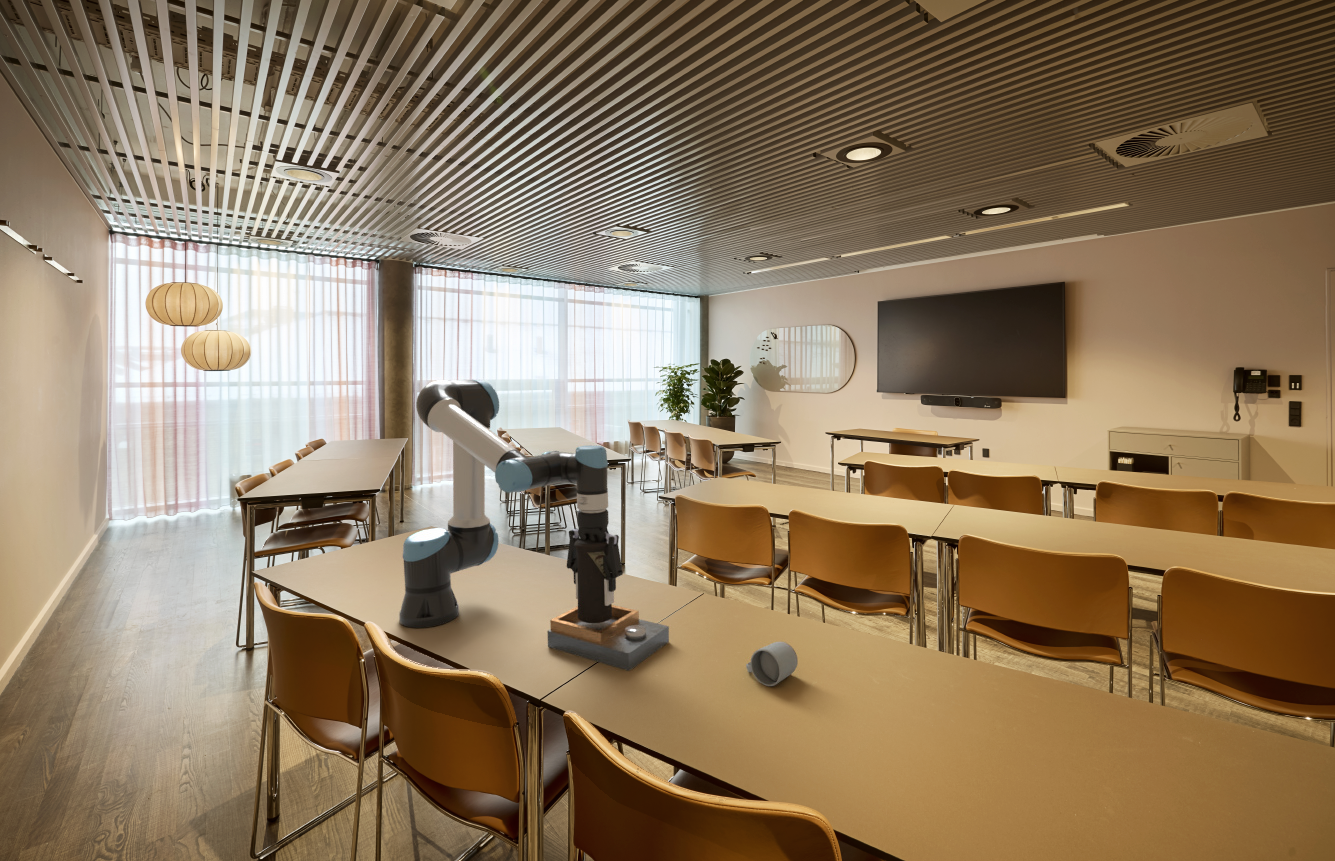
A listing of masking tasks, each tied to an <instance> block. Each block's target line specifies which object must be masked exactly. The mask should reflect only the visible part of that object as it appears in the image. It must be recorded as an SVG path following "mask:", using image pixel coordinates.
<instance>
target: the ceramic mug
mask: <svg viewBox="0 0 1335 861" xmlns="http://www.w3.org/2000/svg"><path fill="white" fill-rule="evenodd" d="M798 661H799V660H798V655H797V652H796V650H795V649H794V648H793V646H791V645H790V644H789V643H787V642H785V641H775V642H772V643H770V644H768V645H765V646H763V647H761V648H759V649H757V650H755V651H754V652H753V653H752V655H751V657H750V661H749V662H748V663H746V664H745V668H746V670H747V672H748V673H752V674H753V676H754V678H755V679H756V680H757V682H759V683H760V684H761V685H764V686H766V687H774V686H776V685H778V684H779V683H780V682H782V681H784V680H785V679H786V678H787V677H789V676H790V675H792V674H793V673H794V672H795V671H796V669H797V668H798V663H799V662H798Z"/></svg>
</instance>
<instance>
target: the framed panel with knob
mask: <svg viewBox="0 0 1335 861" xmlns="http://www.w3.org/2000/svg"><path fill="white" fill-rule="evenodd" d="M639 613H640V612H639V610H637V609H632V608H627V607H623V606H618V605H614V604H612V618H611V619H610V620H608V621H605V622H601V623H585V622H582V621H580V620H579V619H578V605H577V606H576V607H573V608H571V609H569V610H567V611H565V612H563V613H561V614H560V615H558V616H556V617H553V618H552V619H549V622H550V623H549V624H550V629H549V630H547V631H546V632H547V647H548V648H551V649H554V650H557V651H561V652H564V653H567V654H571V655H574V656H576V657H577V656H578V657H581V658H584V659H588V660H591V661H594V662H598V663H601V664H605V665H608V666H611V667H614V668H617V669H621V670H624V671H627V672H629V671H631V670H632V669H634V668H635V667H636V666H638V665H639V664H641V663H642V662H643V661H645V660H646V659H648V658H649V657H650V656H652V655H653V654H654V653H655V652H657V651H658V650H660V649H661V648H662V647H664V646H665V645H667V644H668V643H669V642H670V626H669V625H665V624H661V623H657V622H653V621H649V620H648V621H647V620H645V619H640V618H639V616H640V614H639Z"/></svg>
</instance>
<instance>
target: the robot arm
mask: <svg viewBox="0 0 1335 861" xmlns="http://www.w3.org/2000/svg"><path fill="white" fill-rule="evenodd" d="M415 407H416V411H417V415H418V417H419V419H420V420H421V422H422V423H423V424H424V425H426V426H427V427H428V428H429V429H431V430H432V431H433V432H435V433H442V434H444V435H445V436H446V437H447V438H449V439H450V440H451V441H452V463H453V464H452V471H453V472H452V474H453V475H452V476H453V478H452V481H453V483H452V487H453V488H452V490H453V492H452V495H453V497H452V498H453V500H452V501H453V502H452V504H453V509H452V510H453V512H452V514H453V516H452V517H451V518H450V519H449V520H448V521H447V529H446V528H442V527H436V528H435V527H434V528H433V527H432V528H430V529H428V528H427V529H423V530H420V531H417V532H415V533H413V534H410V535H409V536H408V537H407V538H406V539H405V540H404V542H403V545H402V546H403V548H402V559H403V576H404V590H405V591H404V596H403V601H402V604H401V607H400V611H399V623H400V625H402V626H404V627H406V628H413V629H414V628H415V629H419V628H421V629H423V628H430V627H431V628H432V627H435V626H436V627H437V626H440V625H444V624H446V623H449V622H451V621H453V620H454V619H456V618H457V617H458V616H459V613H460V610H459V609H460V607H459V603H458V601H457V598H456V596H455V594H454V591H453V589H452V583H451V580H452V579H451V576H452V575H451V574H453V573H457V572H459V571H463V570H467V569H469V568H472V567H479V566H481V565H483V564H484V563H487V562H489V561H490V560H492V558H494V556H495V555H496V554H497V551H498V549H499V534H498V532H497V531H496V530H497V529H496V527H495V526H494V525H493V524H492V523H491V520H490V518H489V517H488V516H487V515H486V514H485V500H486V499H485V488H486V487H485V486H486V483H485V482H486V481H485V480H486V478H485V476H486V474H485V473H486V472H485V470H486V468H488V469H489V470H490V471H492V472H493V473H494V478H495V482H496V484H498V488H499V489H500V490H501V491H503V492H505V493H520V492H525V491H529V490H532V489H536V488H541V487H547V486H552V485H556V484H562V483H563V484H564V483H565V484H573V485H576V507H577V510H578V511H577V512H576V518H577V519H576V520H577V526H578V528H574V529H570V530H569V531H568V537H569V542H568V549H567V550H568V552H567V561H566V568H567V569H568V570H569V569H570V570H572V572H573V584H574V585H575V599H577V600H578V572H577V570H578V568H577V550H576V548H575V546H574V543H575V542H576V541H577V540H578V539H580V538H581V540H587V539H591V541H592V542H603V541H606V540H607V543H608V549H609V553H608V555H607V556H604V555H603V568H604V571H605V573H606V576H607V578H605V579H604V591H605V605H606V606H608V605H610V604H612V605H613V603H615V591H616V589H617V580H616V579H617V578H618V577H620V576H623V574H624V572H623V571H624V570H623V565H622V561H621V560H622V559H621V553H620V548H619V539H620V537H619V534H614V535H613V534H611V533H609V530H608V527H609V510H608V508H609V490H608V466H609V462H608V454H607V453H608V452H607V449H606V448H605V447H604V446H602V445H580V446H578V447H576V448H575V453H573V452H563V451H558V450H553V451H550V450H549V451H545V452H542V453H541V454H540V455H534V456H533V455H531V456H527V455H526V454H524V453H523V452H521V451H520V450H518V449H517V448H516V447H514V446H513V445H511V444H510V443H508V442H507V441H506V440H504V439H503V438H502V437H500V436H499V435H497V433H495V432H493V431H492V430H491V421H492V420H493V419H495V418H496V417H497V414H499V412H500V400H499V396H498V394H497V391H496V389H494V387H493V385H491V384H490V383H489V382H487V381H485V380H480V379H479V380H477V379H456V380H455V379H454V380H445V379H443V380H440V379H439V380H435V381H431V382H430V383H428V384H427V385H425V386H424V387H423V388H422V389H421V390H420V391H419V393H418V395H417V398H416V404H415Z"/></svg>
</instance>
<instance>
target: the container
mask: <svg viewBox="0 0 1335 861" xmlns="http://www.w3.org/2000/svg"><path fill="white" fill-rule="evenodd" d="M574 546H575V548H576V550H577V568H578V570H577V572H578V599H577V606H578V619H579V620H580V621H582V622H585V623H601V622H605V621H608V620H610V619H611V618H612V605H613V603H612V604H610V605H608V606H606V605H605V591H604V579H605V578H607V576H606V573H605V571H604V568H603V555H604V556H607V555H608V553H609V549H608V543H607V540H606V541H603V542H592V541H591V539H587V540H581V538H580V539H578V540H577V541H576V542H575V543H574Z"/></svg>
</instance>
